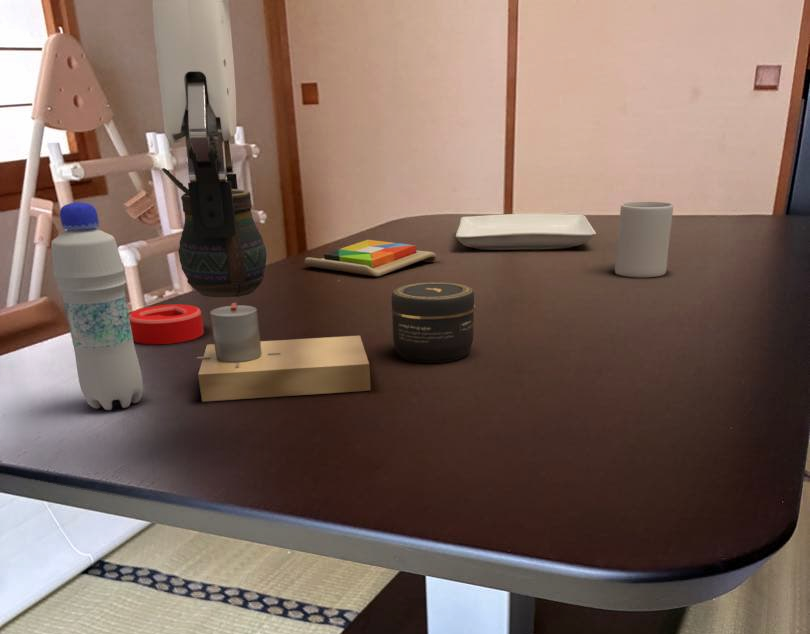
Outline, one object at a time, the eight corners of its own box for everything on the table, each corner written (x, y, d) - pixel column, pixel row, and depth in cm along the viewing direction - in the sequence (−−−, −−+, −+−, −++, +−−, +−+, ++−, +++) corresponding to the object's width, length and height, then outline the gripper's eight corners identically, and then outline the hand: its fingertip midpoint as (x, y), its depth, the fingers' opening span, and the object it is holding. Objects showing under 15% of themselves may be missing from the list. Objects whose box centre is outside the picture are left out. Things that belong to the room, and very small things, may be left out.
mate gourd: (283, 295, 70) (273, 165, 66) (196, 306, 67) (178, 171, 62) (252, 281, 76) (240, 160, 71) (170, 291, 72) (151, 165, 68)
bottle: (128, 389, 93) (92, 196, 84) (159, 402, 89) (124, 200, 80) (71, 404, 89) (26, 203, 80) (101, 418, 85) (56, 208, 75)
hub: (261, 360, 91) (256, 311, 89) (214, 363, 91) (208, 314, 88) (262, 348, 95) (257, 301, 93) (217, 351, 95) (211, 303, 92)
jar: (418, 339, 109) (417, 278, 105) (487, 347, 104) (489, 285, 101) (377, 358, 101) (374, 294, 98) (450, 369, 97) (450, 302, 93)
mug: (668, 277, 139) (677, 207, 134) (616, 277, 140) (622, 207, 135) (660, 264, 150) (667, 198, 144) (611, 264, 151) (617, 199, 146)
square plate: (460, 232, 189) (461, 214, 188) (583, 231, 187) (584, 212, 185) (455, 253, 166) (455, 232, 164) (595, 251, 163) (597, 230, 161)
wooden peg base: (196, 402, 89) (191, 373, 87) (205, 369, 99) (201, 343, 98) (370, 390, 91) (369, 362, 89) (361, 360, 101) (360, 334, 100)
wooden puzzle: (302, 269, 155) (300, 249, 153) (371, 254, 167) (370, 235, 166) (371, 279, 145) (370, 258, 143) (439, 262, 157) (439, 242, 156)
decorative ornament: (203, 324, 119) (200, 301, 118) (204, 340, 111) (201, 316, 110) (133, 329, 118) (129, 306, 116) (129, 347, 109) (125, 322, 108)
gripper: (153, -18, 68) (184, 218, 76) (113, -49, 53) (158, 249, 61) (247, -18, 69) (267, 215, 77) (234, -49, 53) (261, 245, 62)
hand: (219, 228), depth 69 cm, fingers closed on mate gourd, 6 cm apart
